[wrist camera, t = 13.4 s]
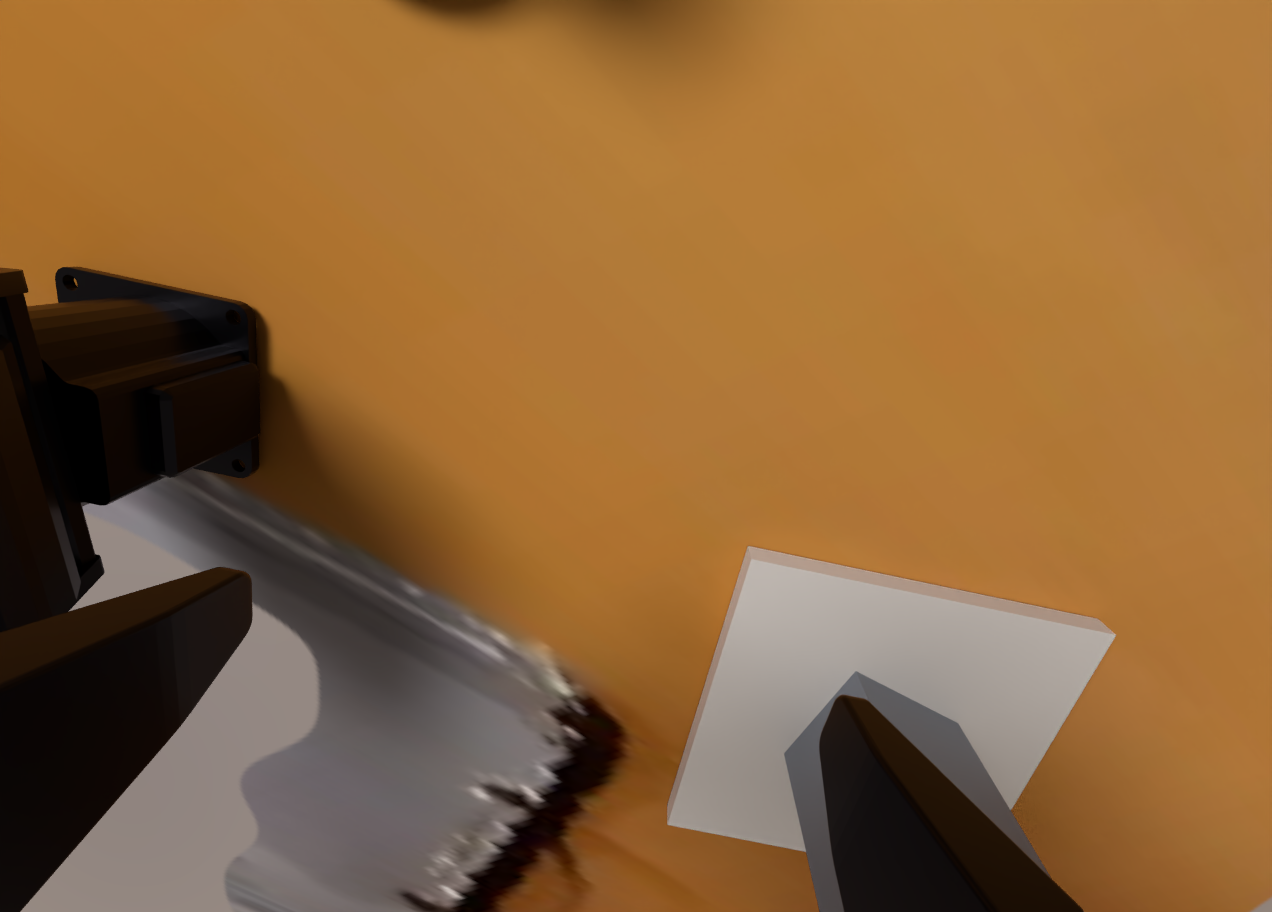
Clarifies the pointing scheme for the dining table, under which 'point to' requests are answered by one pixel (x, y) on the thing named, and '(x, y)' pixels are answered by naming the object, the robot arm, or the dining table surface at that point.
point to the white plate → (885, 652)
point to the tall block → (927, 734)
